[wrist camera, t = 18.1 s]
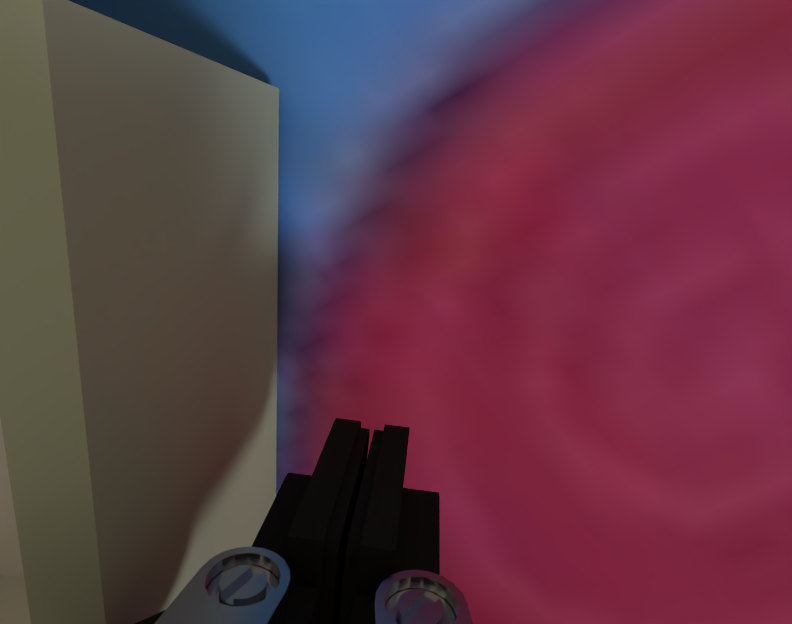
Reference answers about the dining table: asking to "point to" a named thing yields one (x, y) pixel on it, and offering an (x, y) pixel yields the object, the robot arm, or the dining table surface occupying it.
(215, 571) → the robot arm
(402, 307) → the dining table surface
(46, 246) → the drawer
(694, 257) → the dining table surface
